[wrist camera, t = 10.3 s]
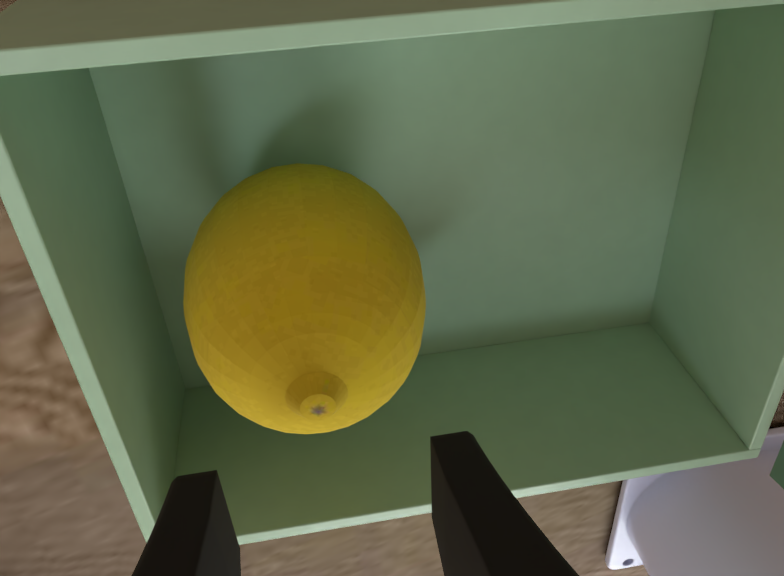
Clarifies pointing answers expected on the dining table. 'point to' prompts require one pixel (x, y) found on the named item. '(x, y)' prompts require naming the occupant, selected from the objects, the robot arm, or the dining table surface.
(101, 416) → the light green open box
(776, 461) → the flap
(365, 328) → the lemon
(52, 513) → the dining table surface
